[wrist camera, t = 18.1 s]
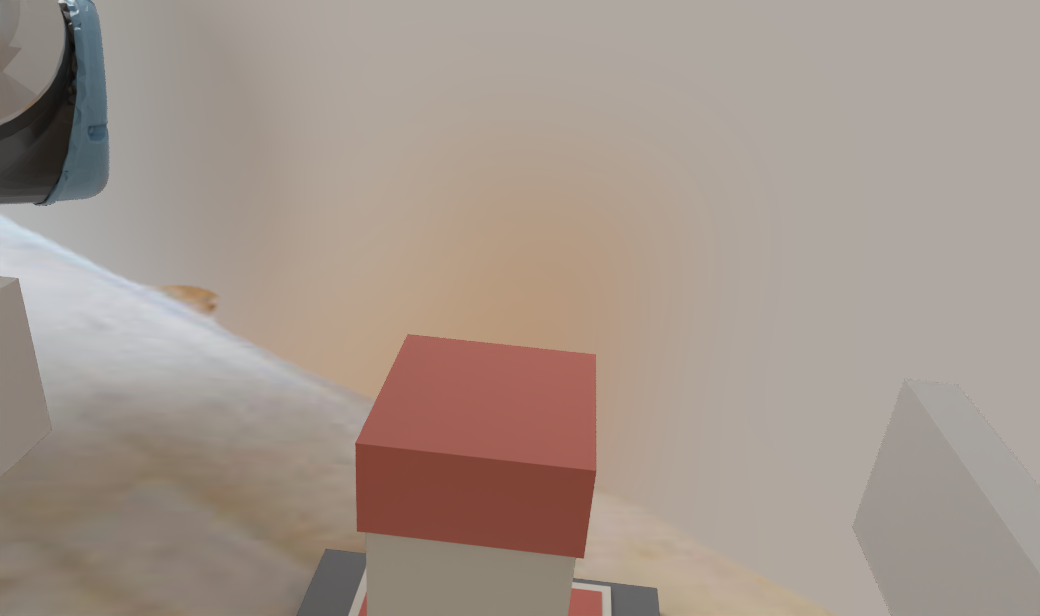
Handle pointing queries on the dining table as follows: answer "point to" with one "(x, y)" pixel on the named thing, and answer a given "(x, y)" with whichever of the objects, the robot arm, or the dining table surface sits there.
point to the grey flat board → (343, 592)
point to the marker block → (477, 479)
